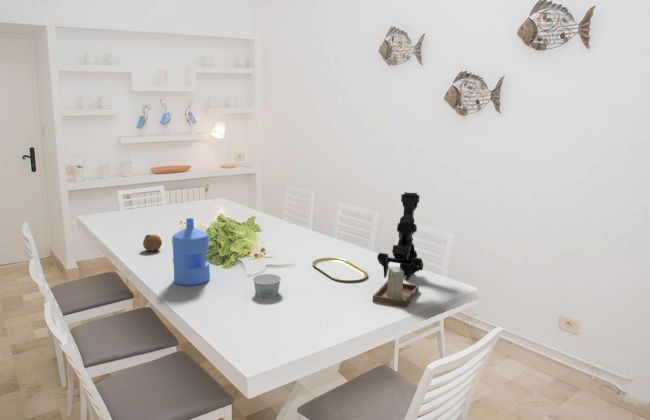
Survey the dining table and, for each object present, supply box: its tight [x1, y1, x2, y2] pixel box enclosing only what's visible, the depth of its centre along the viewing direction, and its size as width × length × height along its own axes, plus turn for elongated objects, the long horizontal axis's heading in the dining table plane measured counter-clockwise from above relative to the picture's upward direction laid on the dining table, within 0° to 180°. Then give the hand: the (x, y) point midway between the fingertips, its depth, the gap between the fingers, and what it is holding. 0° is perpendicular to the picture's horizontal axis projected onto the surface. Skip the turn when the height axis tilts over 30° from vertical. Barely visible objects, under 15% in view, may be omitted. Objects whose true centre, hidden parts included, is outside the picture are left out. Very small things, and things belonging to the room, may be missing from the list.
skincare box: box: [387, 266, 405, 299], centre depth 207 cm, size 6×4×12 cm
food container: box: [252, 273, 282, 298], centre depth 211 cm, size 12×12×6 cm
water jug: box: [171, 217, 211, 286], centre depth 223 cm, size 16×16×28 cm
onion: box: [142, 234, 163, 252], centre depth 268 cm, size 10×9×10 cm
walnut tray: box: [372, 280, 420, 309], centre depth 211 cm, size 20×14×2 cm
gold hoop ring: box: [312, 257, 369, 283], centre depth 242 cm, size 19×35×2 cm, turn 27°
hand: (395, 279), depth 207 cm, fingers open, 9 cm apart
